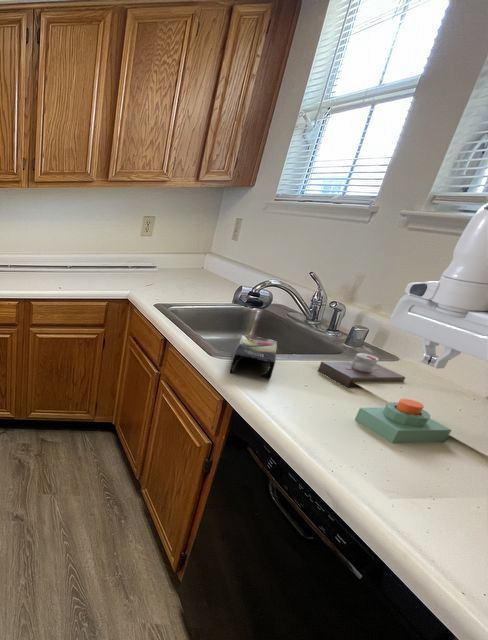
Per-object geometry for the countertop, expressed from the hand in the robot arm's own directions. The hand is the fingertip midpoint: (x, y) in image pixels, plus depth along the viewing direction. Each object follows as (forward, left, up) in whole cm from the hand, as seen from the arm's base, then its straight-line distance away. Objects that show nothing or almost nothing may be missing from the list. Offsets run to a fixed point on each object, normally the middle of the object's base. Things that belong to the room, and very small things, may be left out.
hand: (431, 365), depth 81 cm
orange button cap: (0, 0, -10) cm, 10 cm away
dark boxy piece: (+11, -33, -15) cm, 38 cm away
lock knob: (-12, -24, -12) cm, 29 cm away
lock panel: (-12, -24, -15) cm, 31 cm away
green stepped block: (0, 0, -15) cm, 15 cm away
